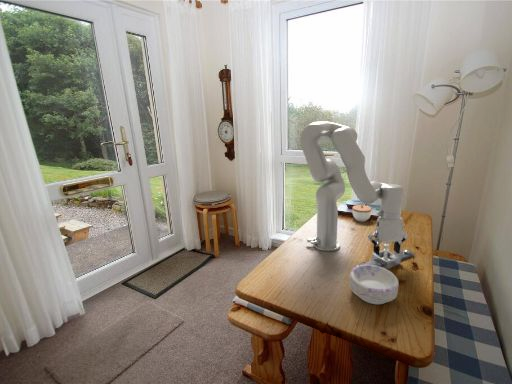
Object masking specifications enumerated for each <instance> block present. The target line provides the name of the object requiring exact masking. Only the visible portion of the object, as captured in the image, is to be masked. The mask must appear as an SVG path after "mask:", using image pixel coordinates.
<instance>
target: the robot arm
mask: <svg viewBox="0 0 512 384" xmlns="http://www.w3.org/2000/svg"><path fill="white" fill-rule="evenodd" d="M299 136H300V137H299V143H300V147H301V149H302V153H303V155H304V157H305V160H306V163H307V166H308V170H309V173H310V175H311V178H312V179H313V181H315V182H317V183H324V184H322V185H321V186H319V187H318V189H316V192H315V201H316V216H317V217H316V234H315V235H314V237H313V238H306V241H307V243H310V244H311V245H313V247H314V248H315V249H317V250H319V251H322V252H335V251H337V250H339V249H340V248H341V243H340V242H339V241H338V220H339V218H338V217H339V214H338V213H339V212H338V211H339V210H338V205H337V204H338V203H337V201H338V200H339V199H341V198H342V197H343V196H344V195H345V192H346V185H345V183H344V179H343V176H342V174H341V171H340V169H339V166H338V163H336V161H334V160H333V159H329V158H326V156H325V153H324V150H323V149H322V147H321V145H320V144H319V142H322V141H329V142H331V144H332V146H333V147H334V149H335V151H336V152H337V154H338V155H339V158H340V159H341V161H342V163H343V164H344V166H345V170H346V175H347V178H348V183H349V184H350V187H351V189H352V191H353V192H354V194H355V196H356V197H357V199H358V200H359V201H360V202H362V203H363V204H365V205H369V204H370V205H371V204H374V203H375V202H377V200H380V210H379V211H378V212H377V213H376V215H377V216H378V217H377V219H376V224H375V228H374V232H371V234H369V235H368V236H367V238H368V240H369V241H370V242H371V243H372V244H373V249H372V250H373V253H376V254H377V255H379V251H381V250H380V248H381V247H380V244H381V243H384V244H385V242H388V243H393V244H394V245H393V251H394V253H395V252H396V253H398V254H399V252H400V251H401V247H402V246H401V245H403V243H404V242H405V241H406V239H407V238H408V237H409V234H408V233H407V232H405V231H404V220H403V217H402V207H403V198H404V187H403V186H402V185H400V184H397V183H396V184H395V183H384V182H381V181H376V180H371V181H370V179H369V178H368V176H367V173H366V167H365V166H366V165H365V163H366V158H365V157H366V156H365V155H364V153H363V151H362V149H361V148H360V146H359V145H358V143H357V140H358V132H357V131H356V130H355V128H354V127H351V126H346V125H342V124H339V123H335V122H332V121H331V122H330V121H314V122H312V123H309V124H307V125H306V126H305V127H304V128H303V129H302V131H301V134H300V135H299Z"/></svg>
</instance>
